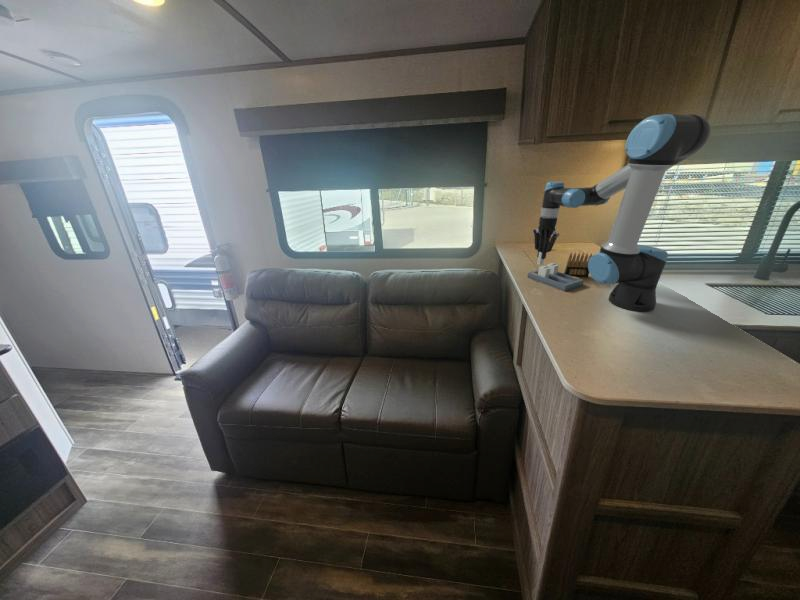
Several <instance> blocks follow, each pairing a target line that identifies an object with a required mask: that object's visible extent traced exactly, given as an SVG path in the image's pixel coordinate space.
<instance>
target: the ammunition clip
mask: <svg viewBox="0 0 800 600" xmlns="http://www.w3.org/2000/svg"><path fill="white" fill-rule="evenodd" d="M592 256H593V253H591V252H590V255H589V253H588V252H587V253H586V254H585V253H584V252H583V253H580V252H579V253H576V252H574V254H573V252H570V254H569V257H568V259H567V262H566V266H565V269H564V272H563V273H564V274H567V275H570V276H574V277H577V278H589V275H590V273H589V270H588V262H589V260H590V258H591V257H592Z"/></svg>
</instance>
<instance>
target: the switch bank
mask: <svg viewBox="0 0 800 600" xmlns="http://www.w3.org/2000/svg"><path fill="white" fill-rule="evenodd" d="M538 270H539V269H536V270H531V271H529V272H527V279H531V280H533V281H536V282H538V283H541V284H543V285H547V286H548V287H551V288H554V289H556V290H560V291H563V292H567V291H570V290H572V289H573V290H574V289H576V288H579V287H582V286H583V285H584V281H585V280H584V279H582V278H581V277H574V276H570V275H567V274H564V272H560V271H558V272H557V275H554V274H551V273H550V274H549V278H545V277H542V276H540V275H538Z"/></svg>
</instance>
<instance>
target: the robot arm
mask: <svg viewBox="0 0 800 600" xmlns="http://www.w3.org/2000/svg"><path fill="white" fill-rule="evenodd" d="M711 131H712V130H711V125H710V122H709V121H708V119H707V118H705V117H704V116H701V115H699V114H678V113H677V114H673V113H671V114H670V113H663V114H662V113H661V114H655V115H651V116H648V117H646V118H645V119H643V120H641V121H640V122H639V123H638V124H636V126H634V127H633V129H632V130H631V132H630V133H629V135H628V137H627V139H626V142H625V147H624V149H625V151H626V155H627V156H628V157H629V161H628V164H627V165H625V166H623V167H622V168H620V169H619V170H617V171H616V172H614V173H612V174H611V175H609V176H607V177H606V178H604V179H603V180H602V181H600V182H598V183H596V184H595V185H593V186H590V187H574V188H573V187H565V182H563V181H548V182H547V183H545V188H544V193H543V199H542V205H541V208H540V209H541V210H540V217H539V222H538V227H537V228H535V229H532V230H533V235H534V236H533V237H534V249H535V250H536V251H537V256H536V257H537V262H536V265H538V266H543V265H544V261H545V259H546V257H547V253H550V252H551V251H552V249H553V247H554V245H555V243H556V240H557V238H558V237H559V236H560V233H559V232H557V231H556V226H557V222H558V218H557V217H559V212H560V207H566V208H569V209H570V208H571V209H572V208H573V209H576V208H578V207H584V206H586V207H587V206H601V205H604V204H607V203H608V202H609V200H611V197H612V196H615V195H616V194H618V193H620V192H622V191H624V193H623V195H622V199H621V202H620V205H619V208H618V210H617V213H616V216H615V220H614V221H613V226H612V229H611V232H610V234H609V237H608V240H607V241H605V242H604V243H602V244H601V246H600V250H599V252H596V253H595V254H592V257H591V258H590V260H589V262H588V270H589V275H590V276H591V278H592V279H593V281H595V282H596V283H598V284H601V285H614V284H616V286H615V287H614V288H613V289H612V290H611V292H610V293H609V296H608V301H609V302H610V303H611V304H612V305H613V306H616V307H619V308H621V309H624V310H628V311H634V312H644V313H645V312H652V311H654V310H655V308H656V306H657V294H656V291H657V290H656V289H657V286H658V283H659V281H660V279H661V276H662V273H663V271H664V268H665V265H666V263H667V261H668V255H669V253H668V251H667V250H666V249H665V250H664V249H662V248H659V247H654V246H650V245H643V244H638V243H639V240H640V239H641V238H640V237H641V236H642V234H643V230H644V228H645V226H646V223H647V220H648V217H649V215H650V212H651V210H652V207H653V204H654V201H655V199H656V196H657V195H658V192H659V189H660V187H661V183H662V181H663V178H664V176H665V173H666V172H667V171H668V170H669V169H671V168H673V167H674V166H676V165H678V164H679V163H681V162H683V161H685V160H687V159H689V158H690V157H692V156H694V155H695V154H696V153H698V152H699V151H701V149H702V148H703V147H704V146H705V145H706V144H707V142H708V140H709V138H710V135H711Z"/></svg>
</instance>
